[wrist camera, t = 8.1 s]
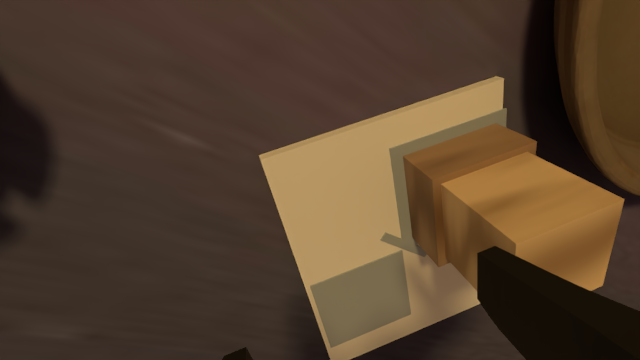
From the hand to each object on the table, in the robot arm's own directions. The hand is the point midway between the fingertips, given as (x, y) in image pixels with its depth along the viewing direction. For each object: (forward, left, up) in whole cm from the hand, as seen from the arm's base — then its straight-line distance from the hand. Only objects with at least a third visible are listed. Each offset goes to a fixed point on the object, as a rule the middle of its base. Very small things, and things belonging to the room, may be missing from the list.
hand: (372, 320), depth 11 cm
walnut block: (-4, -9, -10) cm, 14 cm away
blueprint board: (-8, -6, -10) cm, 14 cm away
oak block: (-4, -9, -7) cm, 12 cm away
